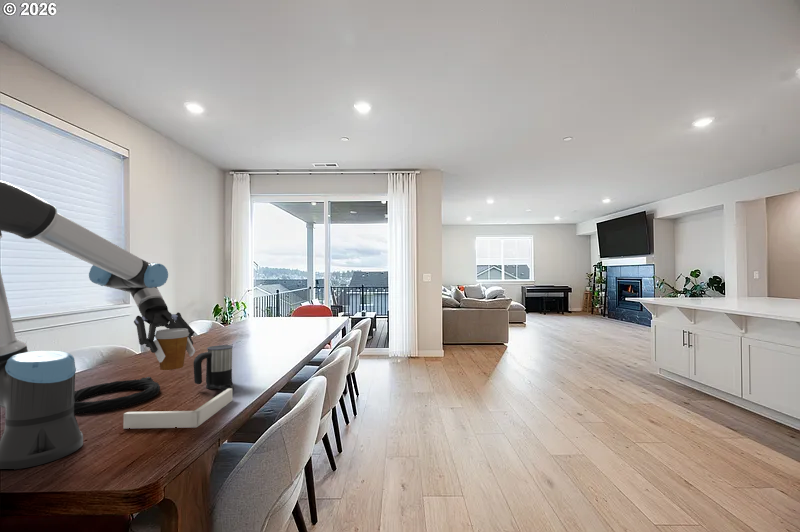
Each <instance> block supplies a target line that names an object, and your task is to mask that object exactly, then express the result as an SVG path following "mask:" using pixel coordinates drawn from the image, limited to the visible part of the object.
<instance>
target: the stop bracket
mask: <svg viewBox="0 0 800 532" xmlns="http://www.w3.org/2000/svg"><path fill="white" fill-rule="evenodd" d="M231 402H233V390H232V388H228V389H226V390H225V391H224V390H222V392H220V393H219V394H216V396H215V397H213V398H211V399H210V400H208V401H207V402H205V403H204V404H203V405H201V406H200V407H198V408H196V409H195V410H170V411H168V410H167V411H166V410H163V411H162V410H161V411H158V410H156V411H127V412H124V413H123V426H122V429H125V430H126V429H129V428H130V429H173V428H174V429H176V428H175V427H177V429H179V428H181V429H182V428H183V429H184V428H187V429H188V428H191V429H192V428H198V427H199V426H200V425H202V424H204V422H206V421H207V420H208V419H210V418H211V417H213V416H214V415H215V414H216V413H218V412H219V411H221V410H222V409H223V408H224V407H225V406H227V405H229V404H230V403H231Z"/></svg>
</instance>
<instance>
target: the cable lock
mask: <svg viewBox="0 0 800 532" xmlns="http://www.w3.org/2000/svg"><path fill="white" fill-rule="evenodd" d="M128 389H137V390H141V389H144V390H141V391H140V392H135V393H132V394H129V395H124V396H121V397H115V398H111V399H101V400H94V401H81V400H83V399H86V398H85V397H87V398H90V397H94V396H97V395H101V394H100V393H103V394H106V393H105V392H108V393H112V392H111V391H113V392H117V391H116V390H122V391H129V390H128ZM160 391H161V385H160V384H159V383H158V382H157V381H154V379H153V377H151V376H147V377H141V378H139V379H130V380H129V379H128V380H118V381H117V380H116V381H112V382H104V383H98V384H95V385H92V386H86V387H84V388H80V389H79V390H75V396H74V415H76V414H75V413H77V414H79V413H87V414H93V413H102V412H101V411H104V412H109V411H108V410H111V411H113V409H114V410H118V409H117V408H120V409H123V408H122V407H125V408H129V407H131V406H135V405H137V403H138V404H141V403H140V402H142V403H144V402H146V401H148V400H150V398H151V399H153V398H155V396H156V395H158V393H159V392H160ZM89 396H90V397H89ZM80 399H81V400H80ZM77 400H79V401H77ZM75 401H76V402H75ZM143 401H144V402H143ZM134 404H135V405H134ZM128 406H129V407H128Z"/></svg>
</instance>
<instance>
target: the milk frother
mask: <svg viewBox="0 0 800 532" xmlns="http://www.w3.org/2000/svg"><path fill="white" fill-rule="evenodd" d="M233 347H234V345H231V344H221V345H220V344H219V345H212V346H208V347H206V350H207V351H206V352H201V353H199V354H198V355H197V356H195V357H194V360H193V379H194V383H195V384H196V385H200V384H202V383H203V369H202V362H203V361H204V360H205V359H206V367H205V368H206V369H205V370H206V371H205V373H206V374H205V384H206V385H205V388H206V389H209V390H210V389H212V390H216V389H217V390H222V391H225V390H226V389H228V388H232V391H234V389H235V388H234V386H232V385H234V384H233V373H232V372H233V369H232V368H233Z"/></svg>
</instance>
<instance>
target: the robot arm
mask: <svg viewBox="0 0 800 532" xmlns="http://www.w3.org/2000/svg"><path fill="white" fill-rule="evenodd" d="M2 232H4V233H5V232H6V233H9V234H13V235H15V236H18V237H20V238H22V239H25V240H32V239H36V240H38V241H40V242H43V243H44V244H46V245H48V246H51V247H53V248H54V249H58V250H59V251H62V252H64V253H66V254H68V255H70V256H72V257H75V258H77V259H79V260H81V261H84V262H86V263H88V264H90V265H92V266H91V267H90V269H89V272H88V279H89V280H90V281H91V282H92V283H94V284H96V285H99V286H101V287H107V288H110V289H115V290H119V291H124V292H127V293H130V294H131V296H132V298H133V300H134V302H135V304H136V306H137V308H138V311H139V313H140V315H137V316H136V317H135V318H134V321H133V324H134V325H135V326H136V331H137V336H138V337H137V338H138V344H139V345H140V346H143V345H145V348H149V351H150V352H151V353H152V354H155V355H154V356H155V357H156V359H157V361H158V362H162V361H163V359H164V358H165V354H164V352H163V350H162V348H161V346H160V344H159V342H158V340H156V339H155V335H156V331H157V328H158V327H164V328H165V329H175V328H185V329H188V332H189V333H190V334H189V336H188V339H187V345H186V352H187V354H188V356H189V357H193V356H194V355H195V352H196V348H195V347H194V341H193V339H192V337H193V335H194V334H195V331H194V330H193V329H192V328H191V326H190V325H189V324H188V323H187V321H186V320H185V319H184V318H183V317H182V314H181V313H180V312H176V313H175V314H174V313H172V312H170V310H169V307H168V305H167V303H166V301H165V300H164V298H163V296H162V294H161V292H160V290H159V287H162V286H164V285H165V284H166V283H167V281H168V278H169V272H168V269H167V267H166V266H165V265H164V264H162V263H158V262H157V263H156V262H148V261H146V260H144V259H142V258H141V257H139V256H137V255H135V254H133V253H131V252H130V251H127V250H126V249H124V248H122V247H121V246H118V245H117V244H115V243H113V242H111V241H109V240H107V239H106V238H104V237H103V236H101V235H98V234H96V233H95V232H93V231H91V230H89V229H88V228H86V227H84V226H82V225H80V224H78V223H77V222H74V221H73V220H71V219H69V218H68V217H66V216H64V215H62V214H60V213H58V210H57V207H56V206H55V205H53V204H51V203H49V202H47V201H46V200H45V199H42V198H41V197H38V196H36V195H35V194H33V193H31V192H30V191H27V190H25V189H22V187H21V188H20V187H18V186H16V185H13V184H11V183H9V182H7V181H3V180H1V179H0V239H2V238H3V234H2ZM2 276H3V274H2V271H1V269H0V408H5V412H4V413H5V417H4V420H5V423H4V430H3V432H2V434H1V436H0V469H14V470H21V469H27V468H31V467H32V468H33V467H37V466H41V465H43V464H47V463H51V462H53V461H56V460H59V459H62V458H64V457H67V456H69V455H71V454H73V453H75V452H76V451H78V450H79V449H81V448H82V447H83V446H84V434H83V432H82V431H81V430H80V426H79V424H78V421H77V419H76V416H75V415H76V414H74V396H75V391H76V390H75V389H76V386H75V385H76V372H77V367H76V361H75V357H74V356H73V354H71V353H69V352H66V351H60V350H35V351H29V350H28V345H27V344H26V342H24V341H21V340H19V339H17V338H16V333H15V328H14V324H13V319H12V315H11V311H10V307H9V302H8V297H7V293H6V288H5V284H4V280H3V277H2ZM145 323H147V324H149V325H148V326H149V327H148V333H147V331H146V324H145Z"/></svg>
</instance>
